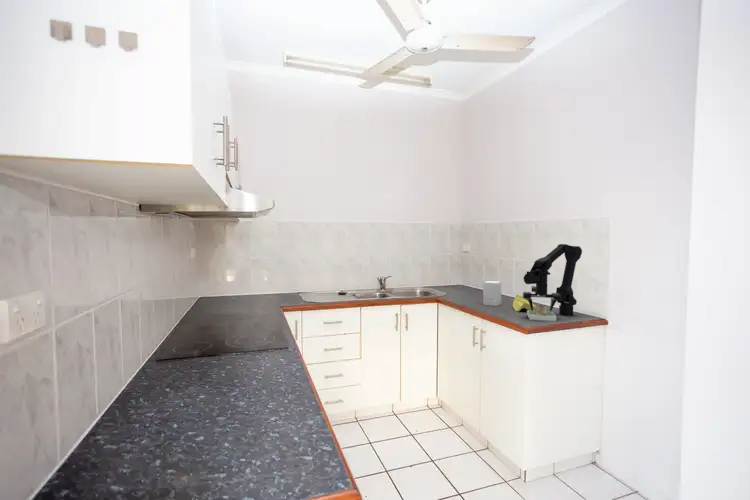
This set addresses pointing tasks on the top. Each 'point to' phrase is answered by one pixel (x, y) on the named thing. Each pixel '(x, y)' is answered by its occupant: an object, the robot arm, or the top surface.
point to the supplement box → (492, 293)
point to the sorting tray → (549, 316)
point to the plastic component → (522, 304)
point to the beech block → (540, 310)
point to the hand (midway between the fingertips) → (541, 311)
